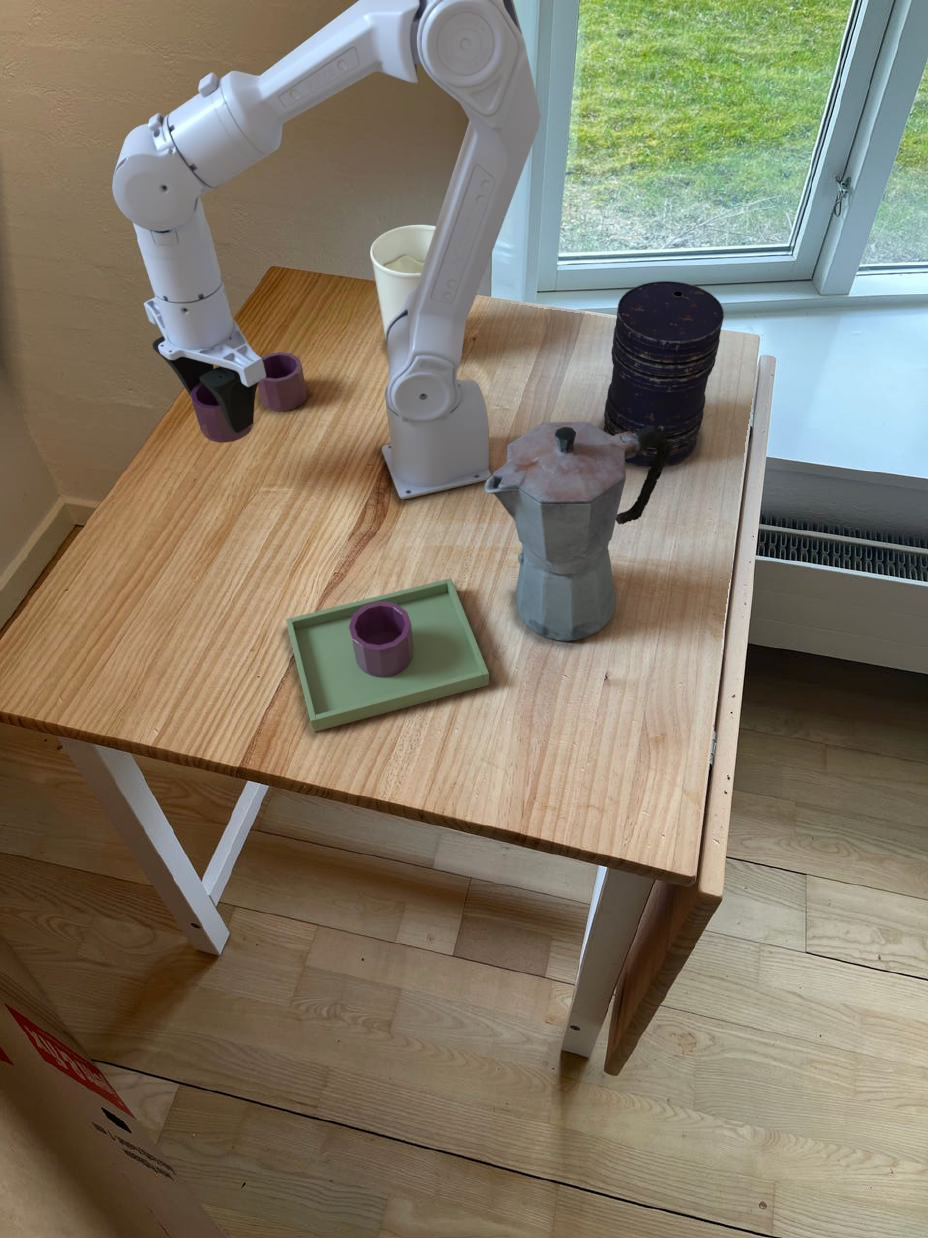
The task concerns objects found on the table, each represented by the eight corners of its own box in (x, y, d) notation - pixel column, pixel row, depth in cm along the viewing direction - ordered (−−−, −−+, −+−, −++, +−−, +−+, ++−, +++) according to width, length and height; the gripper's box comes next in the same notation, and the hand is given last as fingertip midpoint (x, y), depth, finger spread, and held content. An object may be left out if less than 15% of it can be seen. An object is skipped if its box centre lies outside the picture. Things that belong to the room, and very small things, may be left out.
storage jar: (684, 479, 94) (711, 352, 83) (589, 455, 97) (603, 329, 85) (707, 418, 100) (735, 291, 88) (617, 397, 102) (632, 272, 91)
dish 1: (250, 404, 92) (241, 370, 89) (257, 436, 89) (249, 402, 86) (198, 414, 92) (188, 380, 88) (204, 447, 89) (194, 413, 85)
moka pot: (467, 591, 86) (461, 416, 70) (617, 539, 89) (643, 362, 74) (512, 669, 80) (516, 498, 65) (669, 610, 84) (710, 435, 68)
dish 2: (405, 624, 83) (401, 595, 80) (420, 668, 80) (417, 640, 77) (349, 639, 82) (343, 610, 79) (362, 684, 79) (357, 655, 76)
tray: (451, 590, 86) (451, 577, 85) (489, 685, 79) (489, 673, 78) (288, 631, 84) (285, 618, 82) (313, 732, 77) (310, 721, 76)
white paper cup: (384, 320, 112) (374, 224, 103) (467, 320, 112) (464, 223, 103) (377, 371, 106) (365, 274, 97) (464, 371, 106) (461, 273, 97)
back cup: (302, 378, 106) (296, 348, 103) (310, 405, 103) (305, 375, 100) (257, 387, 105) (250, 357, 102) (265, 415, 102) (258, 385, 99)
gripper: (98, 272, 80) (144, 401, 91) (201, 339, 74) (238, 470, 84) (167, 238, 83) (204, 367, 94) (271, 300, 77) (298, 431, 87)
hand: (224, 413), depth 89 cm, fingers closed on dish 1, 5 cm apart
